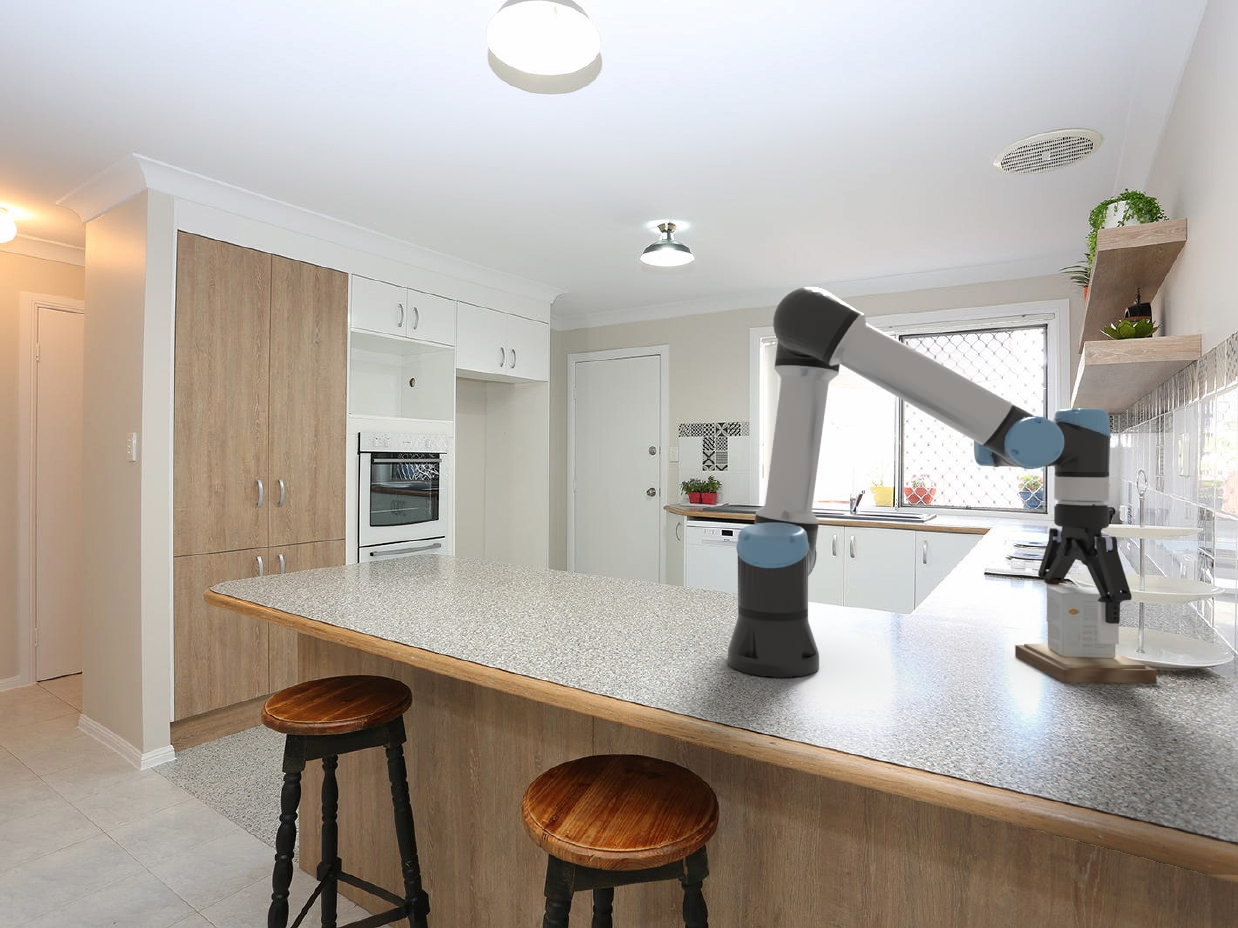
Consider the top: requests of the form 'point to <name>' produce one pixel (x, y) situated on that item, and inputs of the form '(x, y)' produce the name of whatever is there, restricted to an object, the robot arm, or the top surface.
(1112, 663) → the stand
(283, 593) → the top surface
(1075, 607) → the small box
